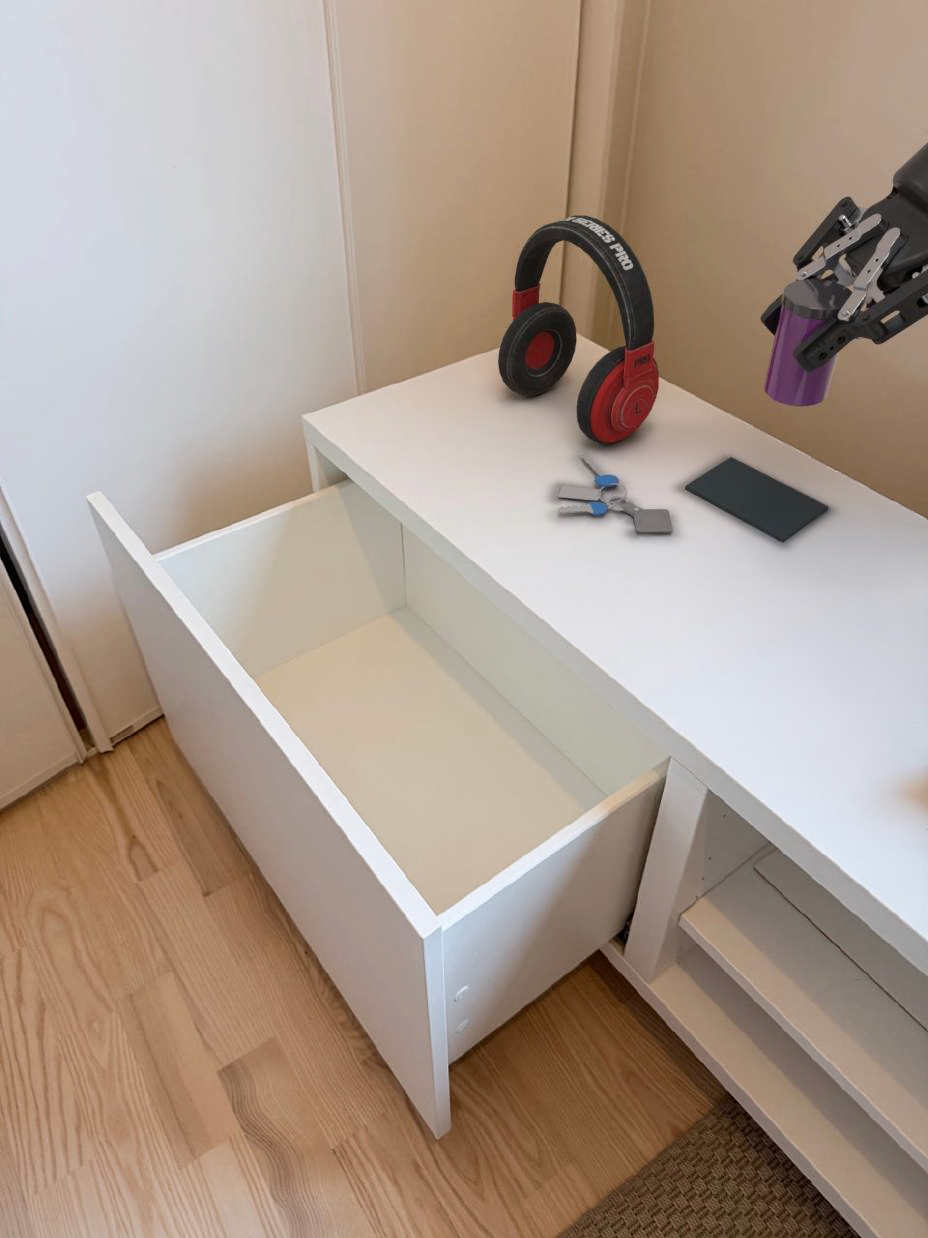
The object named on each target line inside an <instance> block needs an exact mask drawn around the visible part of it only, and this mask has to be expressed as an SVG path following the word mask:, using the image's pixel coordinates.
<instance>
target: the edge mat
mask: <svg viewBox="0 0 928 1238" xmlns="http://www.w3.org/2000/svg"><path fill="white" fill-rule="evenodd" d="M684 489H685V490H686V491H688V492H689V493H692V494H693V495H695V496H697V497H699V498H700V499H703V500H704V501H706V502H707V503H710V504H712V505H714V506H715V507H717V508H719V509H720V510H723V511H724V512H726V513H728V514H730V515H731V516H733V517H735V518H737V519H739V520H741V521H743V522H744V523H746V524H748V525H750V526H752V527H754V528H755V529H757V530H759V531H761V532H763V533H764V534H766V535H768V536H770V537H772V538H774V539H776V540H777V541H779V542H781V543H784V542H786V541H787V540H789V539H790V538H791V537H793V536H794V535H796V534H797V533H798V532H800V531H801V530H802V529H804V528H805V527H807V526H808V525H809V524H810V523H812V522H813V521H815V520H817V518H819V517H820V516H822V515H823V514H825V513H826V512H827V511H829V507H830V506H828V505H827V504H825V503H823V502H822V501H819V500H817V499H815V498H813V497H811V496H809V495H807V494H805V493H803V492H802V491H799V490H798V489H796V488H793V487H791V486H789V485H788V484H785V483H783V482H781V481H779V480H778V479H776V478H774V477H771V476H769V475H767V474H765V473H763V472H761V471H759V470H757V469H756V468H754V467H752V466H750V465H748V464H746V463H744V462H742V461H740V460H737V459H736V458H734V457H732V456H730V457H729V458H727V459H725V460H724V461H722V462H721V463H719V464H718V465H716V466H714V467H713V468H710V469H709V470H708V471H707V472H704V473H703V474H701V475H700V476H698V477H697V478H695V479H693V480H692V481H690V482H689V483H687V484H686V485H685V486H684Z"/></svg>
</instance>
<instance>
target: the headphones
mask: <svg viewBox="0 0 928 1238" xmlns="http://www.w3.org/2000/svg"><path fill="white" fill-rule="evenodd" d="M561 242H568V243H571V244H572V245H574V246H575V247H578V248H579V249H580V250H582V252H583V253H585V254H586V255H587V256H589V258H590V260H592V261H593V263H594V264H595V265H596V266H597V267H598V269H599V270H600V272H601V273H602V274H603V276H604V277H605V279H606V281H607V284H608V285H609V287H610V289H611V291H612V293H613V295H614V297H615V300H616V303H617V307H618V310H619V311H618V312H619V315H620V318H621V325H622V331H623V335H624V342H625V345H622V346H619V347H616V348H614V349H613V350H610V351H609V352H607V353H605V354H604V355H603V356H602V357H601V358H600V359H598V360H597V362H596V363H595V364H594V365H593V366H592V367H591V369H590V370H589V371H588V372H587V375H586V377H585V378H584V380H583V382H582V384H581V387H580V390H579V392H578V395H577V401H576V407H575V408H576V421H577V424H578V428H579V430H580V431H581V432H582V433H583V435H584V436H585V437H586V438H587V439H588V440H590V441H592V442H595V443H597V444H599V445H611V444H614V443H618V442H620V441H622V440H624V439H626V438H627V437H629V436H630V435H632V434H633V433H634V432H635V431H637V430H638V428H640V427H641V426H642V425H643V423H644V422H645V420H646V419H647V418H648V416H649V415H650V413H651V412H652V410H653V407H654V405H655V402H656V399H657V398H658V397H657V396H658V391H659V388H660V371H659V368H658V367H659V366H658V364H657V361H656V359H655V358H654V355H655V341H654V339H653V337H654V333H655V310H654V303H653V297H652V292H651V289H650V285H649V282H648V279H647V276H646V273H645V271H644V268H643V267H642V265H641V262H640V260H639V259H638V257H637V256H636V254H635V252H634V251H633V249H632V247H631V246H630V245H629V244H628V242H627V241H626V240H625V239H624V237H623V236H622V235H621V234H620V233H619V232H618V231H617V230H615V229H614V228H613V227H612V226H610V225H609V224H608V223H606V222H604V221H602V220H600V219H598V218H595V217H592V216H590V215H589V216H588V215H585V214H584V215H582V214H581V215H580V214H576V215H572V216H568V217H565V218H561V219H559V220H556V221H553V222H550V223H547V224H544V225H543V226H541V227H539V228H538V229H536V230H535V231H533V233H532V235H530V236H529V237H528V239H527V240H526V242H525V244H524V245H523V246H522V249H521V251H520V254H519V256H518V260H517V263H516V268H515V275H514V289H513V290H512V297H511V298H512V302H511V304H512V305H511V317H512V322H511V323H510V324H509V326H508V327H507V328H506V331H505V333H504V334H503V336H502V339H501V343H500V346H499V350H498V356H497V357H498V358H497V366H498V371H499V372H498V373H499V375H500V378H501V380H502V382H503V383H504V385H505V386H506V387H507V388H508V389H509V390H510V391H511V392H514V393H515V394H518V395H521V396H522V397H524V396H525V397H533V396H536V395H540V394H542V393H545V392H546V391H548V390H549V389H551V388H553V386H555V385H556V384H557V383H559V381H560V380H561V379H562V377H563V376H564V375H565V374H566V373H567V371H568V369H569V367H570V365H571V363H572V361H573V358H574V356H575V352H576V348H577V341H578V339H577V327H576V324H575V320H574V317H573V316H572V315H571V313H570V312H569V311H568V310H567V309H566V308H564V307H563V306H561V305H559V304H558V303H555V302H549V301H543V302H540V290H541V282H540V281H541V280H542V276H543V274H544V270H545V268H546V264H547V261H548V258H549V256H550V255H551V252H552V250H553V248H554V247H555V246H556V244H557V243H561Z"/></svg>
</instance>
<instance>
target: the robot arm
mask: <svg viewBox="0 0 928 1238" xmlns="http://www.w3.org/2000/svg"><path fill="white" fill-rule="evenodd" d="M892 184H893V185H892V189H891V191H890V193H889V194H888V195H886V196H885V197H884V198H882V199H881V200H879V201H878V202H876V203H874V204H872V205H870V206H869V207H863V206H859V205H857V204H856V202H855V201H854V200H853V198H852V197H851V196H844V197H843V198H841V199H840V200H839V201H838V202H837V203H836V205H835V206H834V207H833V208H832V209H831V210H830V212H829V213H828V215H826V217H824V219H823V221H822V222H821V223H820V224H819V225H818V227H817V228H815V230H814V232H813V233H812V234H811V235H810V236H809V237H808V238H807V240H806V241H805V243H804V244H803V245H802V246H801V247H800V248H799V250H798V251H797V252H796V254H794V256H793V258H792V263H793V264H794V265H795V267H796V272H797V273H796V276H795V278H796V279H795V281H798V280H804V279H821V280H827V281H832V282H836V283H839V284H841V285H843V286H845V287H847V288H848V287H851V286H852V287H853V291H852V292H853V293H852V294H851V296H850V297H849V298H848V300H847V301H846V303H845V304H844V305H843V307H842V308H841V310H840V311H839V313H838V319H837V320H836V319H835V318H834V317H833V316H832V317H831V318H829V319H828V320H827V321H826V322H825V323H823V324H822V325H821V326H820V327H819V328H818V329H817V330H816V331H814V332H813V333H812V334H811V335H810V336H809V337H808V338H807V339H806V340H804V341H803V342H802V343H801V344H800V345H799V346H798V347H797V348H796V349H795V350H794V351H793V357H794V358H795V359H796V360H797V362H798V363H799V364H800V365H801V366H802V367H803V368H804V369H805V370H806V371H807V372H811V371H814V370H815V369H817V368H819V367H821V366H823V365H824V364H825V363H827V362H828V361H829V359H831V358H832V357H833V356H834V355H836V354H837V353H838V354H839V352H840V351H842V350H843V349H844V348H845V347H846V346H848V344H850V343H851V342H852V341H853V340H861V339H868V340H870V341H872V342H873V344H874V345H882V344H885V343H886V342H888V341H889V340H890V339H892V338H894V337H895V336H897V335H898V334H900V333H902V332H903V331H904V330H906V329H908V328H909V327H911V326H912V325H914V324H915V323H917V322H918V321H920V320H922V319H923V318H925V317H926V316H928V141H927V142H926V143H925V144H924V145H923V146H922V147H921V148H920V149H918V151H917V152H915V153H914V154H913V156H911V157H910V158H909V159H908V160H907V161H905V163H904V164H902V165H901V166H900V168H898V169H897V170H896V171H895V172H894V175H893V177H892ZM821 247H822V249H823V250H822V253H821V254H820V255H818V257H817V258H816V259H815V260H814V258H813V257H814V256H815V255H816V253H817V252H818V251H819V250H820V249H821ZM844 255H845V257H844V258H842V257H843V256H844ZM828 271H831V273H830V274H828V275H827V276H825V277H822V276H823V275H824V274H826V272H828ZM782 295H783V292H782V293H781V294H780V295H779V297H777V298H776V299H775V300H774V301H773V302H771V303H770V304H769V305H768V306H767V308H766V309H765V310H764V312H763V313H761V316H760V322H761V323H762V324H763V325H764V326H765V328H766V329H767V330H768V331H769V333H771V334H772V335H773V336H774V337H775V334H776V329H777V324H778V320H779V315H780V311H781V306H782ZM864 306H865V308H864ZM863 308H864V310H862V309H863ZM895 312H898V313H897V314H896V315H894V316H893V317H891V318H889V319H888V320H886V321H884V322H883V320H884V319H885V318H887V317H888V316H890V315H891V314H893V313H895Z"/></svg>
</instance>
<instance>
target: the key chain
mask: <svg viewBox="0 0 928 1238" xmlns="http://www.w3.org/2000/svg"><path fill="white" fill-rule="evenodd" d="M580 456H581V457H582V459H583V460H584V462H585V463H586V464H587V465H589V466H590V468H591V469H592V471H594V472H595V473H596V474H597V476H595V477H594V480H593V481H594V483H595V484H596V485H598V486H601V487H600V488H590V487H578V486H567V485H561V486H560V490H559V493H558V496H557V497H558V498H562V499H563V498H564V499H574V500H582V501H583V500H584V501H589V502H587V504H586V505H585V504H580V505H579V506H578V505H572V506H570V505H567V506H565V507H564V506H560V507H558V509H557V511H558V513H560V514H568V513H583V512H585V513H586V512H587V513H590V514H592V515H596V516H599V515H604V514H605V513H607V512H608V510H612V511H616V512H624V513H626V514H629V515H631V516H632V517H633V519H634V525H635V530H636V532H638V533H672V532H673V530H674V527H673V523H672V519H671V518H672V517H671V514H670V510H668V509H667V508H654V509H653V508H650V509H649V508H642V507H641V506H638V505H636V504H634V503H633V502H631V500H630V499H629V498H628V497H627V495H628V489H627V488H626V487H625V485H623V484H620V483H619V482H620V479H619V478H618V477H617V476H616V475H614V474H607V473H606V474H605V472H604V471H603V470H602V469H601V468H600V467H599V466H598V465H597V464H596V463H595V462H594V461H593V460H592V459H591V458H590V457H588V456H587V455H586V454H585V453H580ZM614 486H620V487H622V488H623V490H624V492H625V493H624V495H621V494H614V495H611V496H608V498H606V500H605V499H603V498H602V490H603V489H604V488H605V487H608V488H609V487H614ZM599 500H600V501H602V502H600V501H599ZM613 500H616V501H613ZM621 501H625V503H624V504H622V505H621V506H620V507H619V506H618V507H617V506H616V504H617V503H621ZM611 504H612V505H611Z"/></svg>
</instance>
